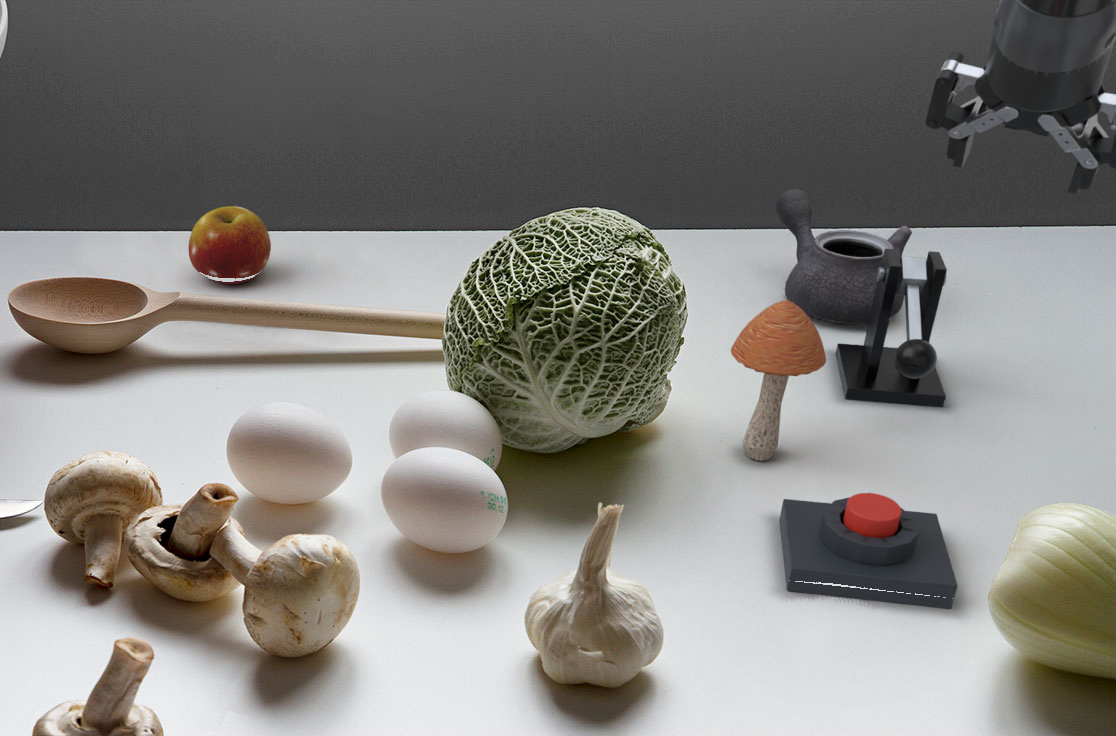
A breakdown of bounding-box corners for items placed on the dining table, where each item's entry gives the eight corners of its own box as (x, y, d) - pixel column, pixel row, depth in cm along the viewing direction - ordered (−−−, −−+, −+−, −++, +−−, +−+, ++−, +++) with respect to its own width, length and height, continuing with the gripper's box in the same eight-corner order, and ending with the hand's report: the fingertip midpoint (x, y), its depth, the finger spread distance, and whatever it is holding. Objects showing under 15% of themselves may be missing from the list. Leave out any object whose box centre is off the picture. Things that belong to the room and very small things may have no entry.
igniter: (893, 513, 102) (898, 495, 101) (900, 542, 99) (905, 523, 98) (840, 508, 103) (844, 490, 102) (845, 536, 100) (850, 517, 99)
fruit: (203, 298, 147) (197, 231, 143) (181, 270, 154) (175, 205, 150) (283, 284, 150) (279, 218, 146) (257, 257, 157) (254, 193, 153)
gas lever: (931, 388, 118) (942, 363, 115) (890, 384, 119) (900, 360, 116) (925, 279, 125) (935, 253, 122) (886, 276, 125) (895, 251, 122)
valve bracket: (943, 407, 124) (975, 283, 117) (845, 399, 126) (871, 276, 119) (927, 360, 132) (956, 242, 125) (835, 353, 134) (859, 236, 127)
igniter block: (930, 535, 106) (942, 494, 104) (951, 609, 98) (963, 566, 96) (779, 520, 108) (787, 479, 106) (786, 591, 100) (795, 548, 98)
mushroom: (782, 427, 121) (810, 278, 113) (822, 471, 114) (854, 316, 106) (701, 435, 120) (724, 285, 112) (737, 480, 113) (763, 324, 105)
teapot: (942, 309, 142) (964, 222, 137) (845, 342, 136) (864, 252, 130) (811, 254, 156) (826, 173, 151) (717, 282, 150) (729, 198, 144)
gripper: (1191, 1, 85) (1132, 155, 99) (967, -36, 91) (941, 113, 105) (1153, 91, 83) (1099, 234, 97) (927, 46, 89) (907, 187, 103)
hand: (1017, 171), depth 101 cm, fingers open, 8 cm apart
